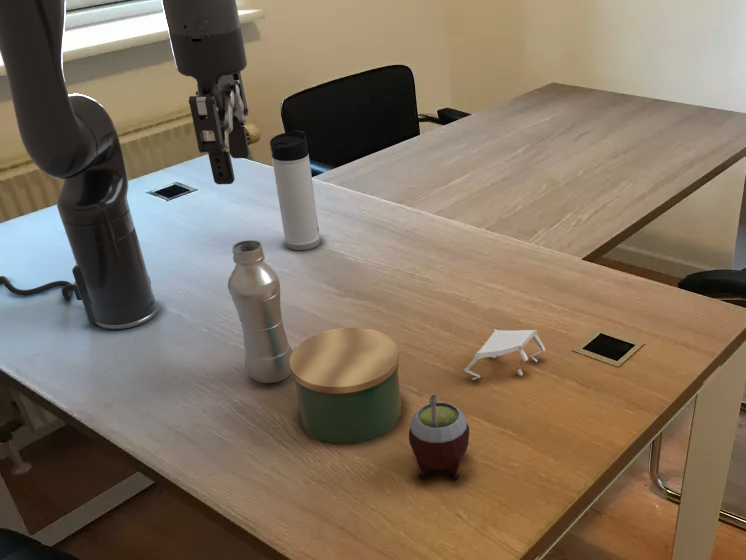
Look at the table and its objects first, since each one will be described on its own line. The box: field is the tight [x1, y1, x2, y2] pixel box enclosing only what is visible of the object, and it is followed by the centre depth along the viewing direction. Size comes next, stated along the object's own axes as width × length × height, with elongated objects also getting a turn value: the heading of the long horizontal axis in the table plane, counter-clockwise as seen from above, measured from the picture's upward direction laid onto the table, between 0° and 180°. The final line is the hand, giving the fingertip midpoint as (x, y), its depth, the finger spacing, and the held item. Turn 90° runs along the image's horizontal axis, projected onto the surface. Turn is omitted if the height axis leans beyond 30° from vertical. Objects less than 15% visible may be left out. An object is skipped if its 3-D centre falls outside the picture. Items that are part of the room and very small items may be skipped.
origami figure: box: [462, 328, 546, 381], centre depth 113 cm, size 12×8×5 cm
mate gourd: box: [408, 393, 470, 482], centre depth 93 cm, size 8×8×15 cm
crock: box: [289, 327, 402, 445], centre depth 104 cm, size 14×14×9 cm
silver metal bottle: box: [227, 239, 293, 384], centre depth 108 cm, size 6×7×20 cm
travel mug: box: [269, 129, 321, 251], centre depth 143 cm, size 6×7×20 cm
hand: (233, 169), depth 96 cm, fingers open, 8 cm apart
